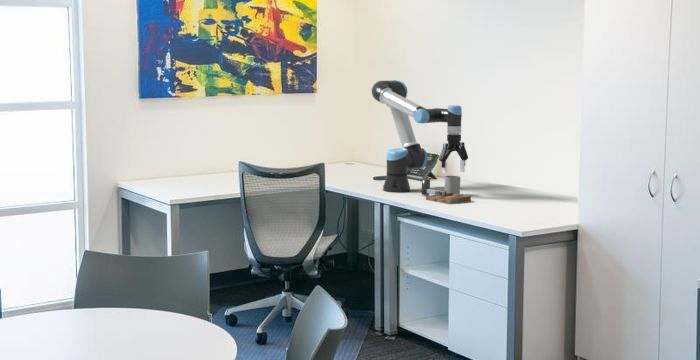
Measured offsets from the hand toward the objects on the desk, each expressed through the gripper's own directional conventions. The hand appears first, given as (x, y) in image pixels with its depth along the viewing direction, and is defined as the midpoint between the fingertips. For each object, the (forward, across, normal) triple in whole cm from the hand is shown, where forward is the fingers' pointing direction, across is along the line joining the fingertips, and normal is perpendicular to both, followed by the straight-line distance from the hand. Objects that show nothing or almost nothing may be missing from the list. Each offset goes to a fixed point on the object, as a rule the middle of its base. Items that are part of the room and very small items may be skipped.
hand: (453, 172), depth 488 cm
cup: (+12, 0, +1) cm, 12 cm away
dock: (+12, -16, -13) cm, 24 cm away
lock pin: (+11, -15, 0) cm, 19 cm away
